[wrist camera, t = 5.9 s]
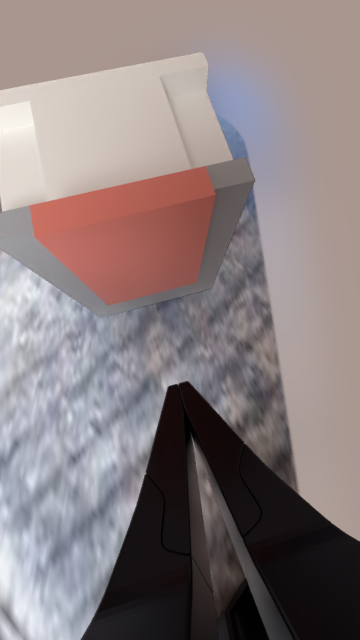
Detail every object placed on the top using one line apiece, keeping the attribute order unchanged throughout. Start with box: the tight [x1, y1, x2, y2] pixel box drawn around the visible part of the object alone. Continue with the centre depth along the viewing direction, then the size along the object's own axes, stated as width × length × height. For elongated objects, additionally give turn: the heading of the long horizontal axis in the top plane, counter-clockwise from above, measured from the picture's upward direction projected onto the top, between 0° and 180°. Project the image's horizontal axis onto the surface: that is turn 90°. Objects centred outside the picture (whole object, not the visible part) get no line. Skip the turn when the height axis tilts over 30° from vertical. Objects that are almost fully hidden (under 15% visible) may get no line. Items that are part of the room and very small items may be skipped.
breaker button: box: [29, 166, 216, 306], centre depth 10 cm, size 8×5×6 cm, turn 16°
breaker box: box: [0, 52, 255, 318], centre depth 13 cm, size 6×9×11 cm
